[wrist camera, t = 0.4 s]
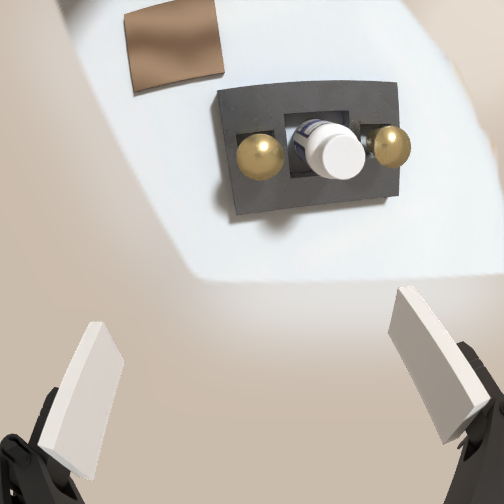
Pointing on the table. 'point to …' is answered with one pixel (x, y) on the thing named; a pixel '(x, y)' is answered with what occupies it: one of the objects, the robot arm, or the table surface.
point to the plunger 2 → (389, 146)
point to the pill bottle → (329, 149)
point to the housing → (272, 118)
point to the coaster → (173, 42)
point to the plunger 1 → (260, 157)
